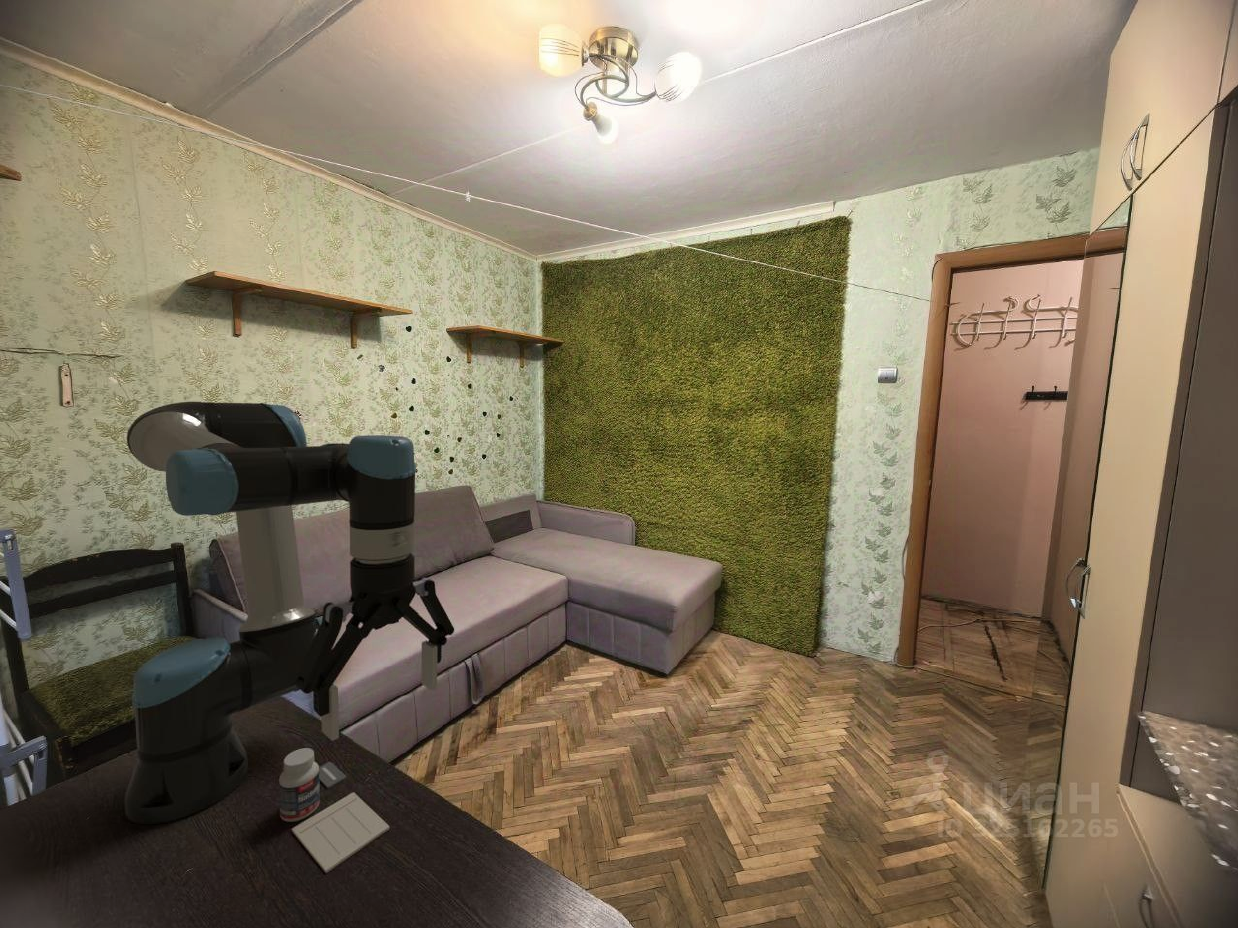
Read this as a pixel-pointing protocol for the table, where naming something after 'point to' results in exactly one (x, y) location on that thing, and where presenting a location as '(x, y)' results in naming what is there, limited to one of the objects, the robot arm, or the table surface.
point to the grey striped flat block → (330, 775)
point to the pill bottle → (299, 786)
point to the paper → (340, 831)
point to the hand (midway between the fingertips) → (384, 708)
